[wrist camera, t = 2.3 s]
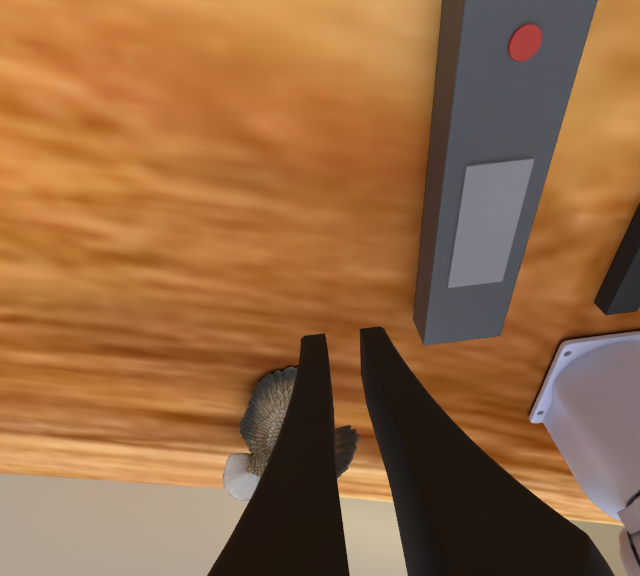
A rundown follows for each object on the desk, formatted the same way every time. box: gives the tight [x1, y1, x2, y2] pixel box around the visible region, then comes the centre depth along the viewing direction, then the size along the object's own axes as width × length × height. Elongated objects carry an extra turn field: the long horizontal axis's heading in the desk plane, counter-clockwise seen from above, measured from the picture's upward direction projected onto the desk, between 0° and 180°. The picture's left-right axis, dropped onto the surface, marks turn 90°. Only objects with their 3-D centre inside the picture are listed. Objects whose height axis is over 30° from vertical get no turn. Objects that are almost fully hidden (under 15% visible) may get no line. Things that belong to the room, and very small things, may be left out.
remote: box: [413, 0, 597, 346], centre depth 19 cm, size 17×4×2 cm, turn 5°
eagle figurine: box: [223, 367, 360, 501], centre depth 27 cm, size 8×7×9 cm
